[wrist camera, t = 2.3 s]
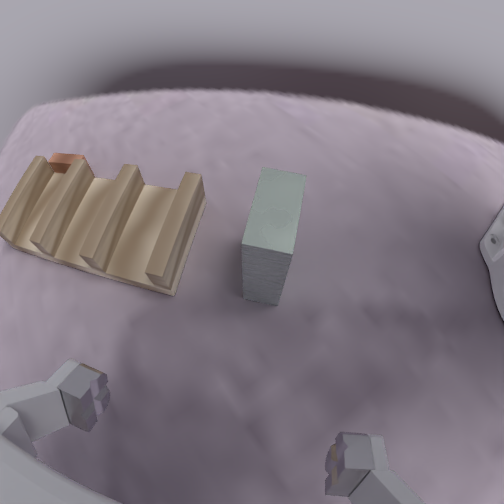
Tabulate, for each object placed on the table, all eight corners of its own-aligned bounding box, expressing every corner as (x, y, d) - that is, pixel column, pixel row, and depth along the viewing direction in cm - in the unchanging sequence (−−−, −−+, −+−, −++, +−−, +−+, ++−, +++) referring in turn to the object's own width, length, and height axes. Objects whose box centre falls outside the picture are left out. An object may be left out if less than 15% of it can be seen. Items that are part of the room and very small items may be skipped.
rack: (210, 192, 33) (206, 163, 29) (174, 296, 28) (162, 276, 24) (56, 170, 34) (42, 146, 30) (14, 248, 29) (-8, 228, 25)
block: (289, 245, 30) (306, 175, 21) (277, 306, 27) (292, 254, 18) (258, 238, 30) (262, 167, 21) (243, 298, 28) (241, 243, 19)
